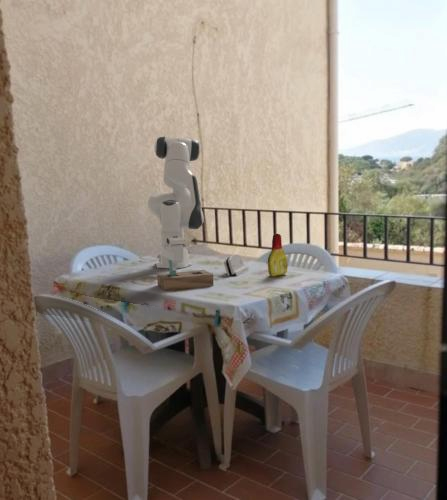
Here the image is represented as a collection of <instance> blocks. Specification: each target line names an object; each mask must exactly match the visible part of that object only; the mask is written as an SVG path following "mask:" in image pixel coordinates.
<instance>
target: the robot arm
mask: <svg viewBox="0 0 447 500" xmlns="http://www.w3.org/2000/svg"><path fill="white" fill-rule="evenodd" d="M153 149H154V152H155V156H156V157H157V158H158V159H162V160H163V159H164V167H163V183H164V185H165V186H167V187H168V188H169V189H172V192H168V193H167V192H166V193H157V194H154V195H153V194H152V195H151V196H150V197H149V199H148V201H147V208H148V211H150V212H151V214H152V215H154V216H155V217H156V218H157V219H158V221H159V222H160V225H161V230H160V235H161V237H160V238H161V239H160V241H161V247H162V248H161V249H160V252H159V253H158V254H156V258H157V259H158V261H156V262H155V266H156V268H157V269H169V260H171V261H172V270H173V271H176V272H177V269H181V268H186V267H188V266H192V262H189V261H190V259H189V251H188V249H186V239H185V232H184V229H190V230H198V229H199V228H200V227H202V226H203V225H204V220H205V218H204V212H203V208H202V206H201V197H200V191H199V185H198V180H197V177H196V175H195V174H194V173H193V172H192V171H191V169H190V163H191V162H194V161H197V160H198V159H199V156H200V154H201V152H202V151H201V145H200V142H199V141H198V140H197V139H194V138H187V137H181V136H180V137H176V136H174V137H173V136H171V137H170V136H168V137H166V136H160V137H158V138H157V139H156V141H155V143H154V147H153Z"/></svg>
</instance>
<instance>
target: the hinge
mask: <svg viewBox="0 0 447 500" xmlns="http://www.w3.org/2000/svg"><path fill="white" fill-rule="evenodd" d="M223 265H224V268H225V271H226V275H227V276H228V277H230V276H232V275H235V277H238V276H241V275H242V274H243V273H246V272H248V271H249V268H248V266H246V265H245V263H244V261H243V258H242V256H241V255H240V254H232V255H229V256H227V257H226V258H225V260H224V261H223Z"/></svg>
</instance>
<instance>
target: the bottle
mask: <svg viewBox="0 0 447 500" xmlns="http://www.w3.org/2000/svg"><path fill="white" fill-rule="evenodd" d="M267 270H268V275H269V276H270V277H277V276H282V275H283V276H284V275H286V274H287V273H288V257H287V254H286V252H285V251H284V249H283V246H282V235H281V234H280V233H275V234H273V235H272V240H271V251H270V253H269V255H268V258H267Z"/></svg>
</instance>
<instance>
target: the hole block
mask: <svg viewBox="0 0 447 500" xmlns="http://www.w3.org/2000/svg"><path fill="white" fill-rule="evenodd" d="M156 275H157V286H158V287H159V288H160V289H162V290H163V291H164V292H165V291H174V290H176V291H177V290H183V289H192V288H193V289H194V288H195V289H196V288H201V287H202V288H203V287H212V286H213V287H214V274H213V273H211V272H209V271H207V270H206V269H201V270H200V269H199V270H190V271H189V270H188V271H179V272H178V271H176V275H177V276H173V277H170V272H167V273H157V274H156Z"/></svg>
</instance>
